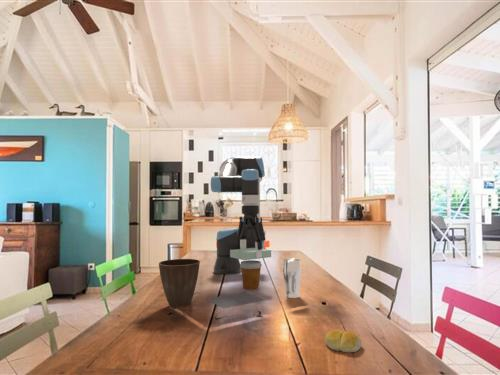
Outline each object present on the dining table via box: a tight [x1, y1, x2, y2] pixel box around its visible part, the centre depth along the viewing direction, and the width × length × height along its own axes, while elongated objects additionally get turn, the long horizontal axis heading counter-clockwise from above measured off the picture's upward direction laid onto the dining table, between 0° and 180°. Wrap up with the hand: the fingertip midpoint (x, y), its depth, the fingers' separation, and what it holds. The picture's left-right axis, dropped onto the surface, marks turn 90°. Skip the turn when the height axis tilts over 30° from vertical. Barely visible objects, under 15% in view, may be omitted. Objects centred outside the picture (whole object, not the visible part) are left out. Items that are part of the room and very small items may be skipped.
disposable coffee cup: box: [240, 259, 263, 291], centre depth 149 cm, size 10×10×12 cm
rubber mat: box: [205, 291, 266, 309], centre depth 131 cm, size 14×18×1 cm
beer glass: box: [282, 257, 302, 299], centre depth 136 cm, size 7×7×15 cm
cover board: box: [230, 248, 272, 261], centre depth 149 cm, size 11×14×3 cm
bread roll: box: [325, 329, 362, 353], centre depth 90 cm, size 8×9×4 cm
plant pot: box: [158, 258, 201, 309], centre depth 127 cm, size 15×15×16 cm
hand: (250, 255), depth 149 cm, fingers closed on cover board, 11 cm apart
